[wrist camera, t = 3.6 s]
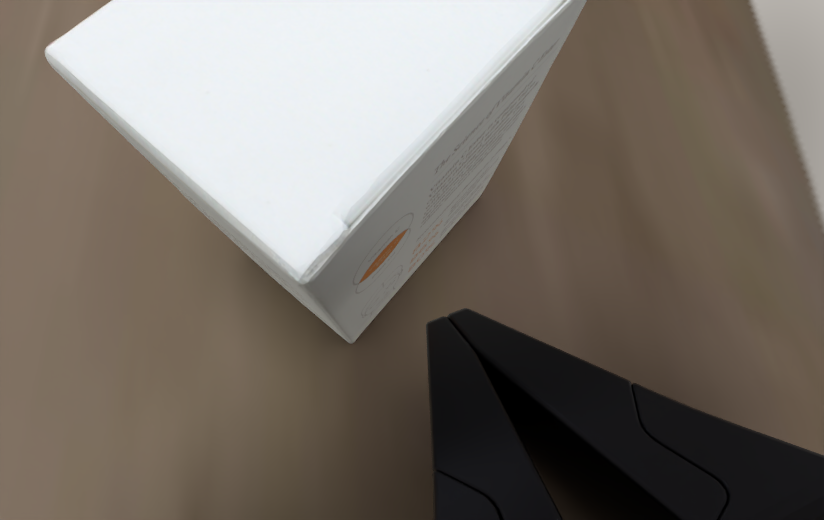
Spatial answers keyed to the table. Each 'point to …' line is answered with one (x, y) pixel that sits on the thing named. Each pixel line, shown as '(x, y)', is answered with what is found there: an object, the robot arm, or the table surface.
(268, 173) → the small box
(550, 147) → the table surface
